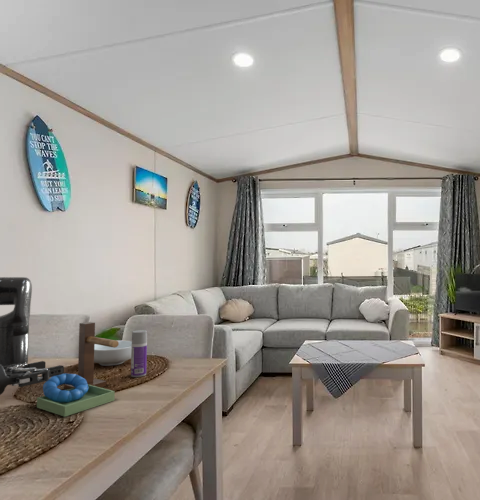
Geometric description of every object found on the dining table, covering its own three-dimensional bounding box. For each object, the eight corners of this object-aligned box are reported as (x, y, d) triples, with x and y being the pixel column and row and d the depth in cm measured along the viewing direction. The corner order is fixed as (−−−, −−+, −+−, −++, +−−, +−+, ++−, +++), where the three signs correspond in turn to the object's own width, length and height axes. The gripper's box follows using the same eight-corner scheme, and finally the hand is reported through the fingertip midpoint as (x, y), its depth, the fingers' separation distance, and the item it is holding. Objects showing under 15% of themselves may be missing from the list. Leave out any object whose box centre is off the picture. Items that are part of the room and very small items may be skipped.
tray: (36, 407, 105) (36, 397, 105) (86, 392, 117) (87, 384, 117) (64, 416, 100) (64, 406, 100) (114, 400, 111) (114, 391, 111)
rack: (64, 389, 120) (65, 323, 120) (91, 382, 127) (92, 320, 127) (100, 399, 112) (102, 329, 112) (127, 391, 119) (128, 325, 119)
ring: (52, 409, 104) (33, 386, 108) (94, 396, 114) (75, 376, 118) (55, 400, 103) (36, 377, 108) (97, 388, 113) (78, 367, 117)
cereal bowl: (107, 371, 138) (108, 351, 138) (74, 366, 144) (75, 347, 144) (147, 359, 154) (148, 341, 154) (116, 355, 160) (117, 338, 160)
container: (149, 373, 137) (150, 330, 137) (140, 377, 132) (141, 332, 132) (136, 372, 137) (137, 329, 138) (127, 376, 133) (128, 332, 133)
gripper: (-11, 372, 86) (70, 355, 100) (-41, 363, 92) (39, 349, 106) (-12, 406, 85) (69, 385, 100) (-42, 395, 92) (38, 377, 106)
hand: (53, 367), depth 103 cm, fingers open, 8 cm apart
